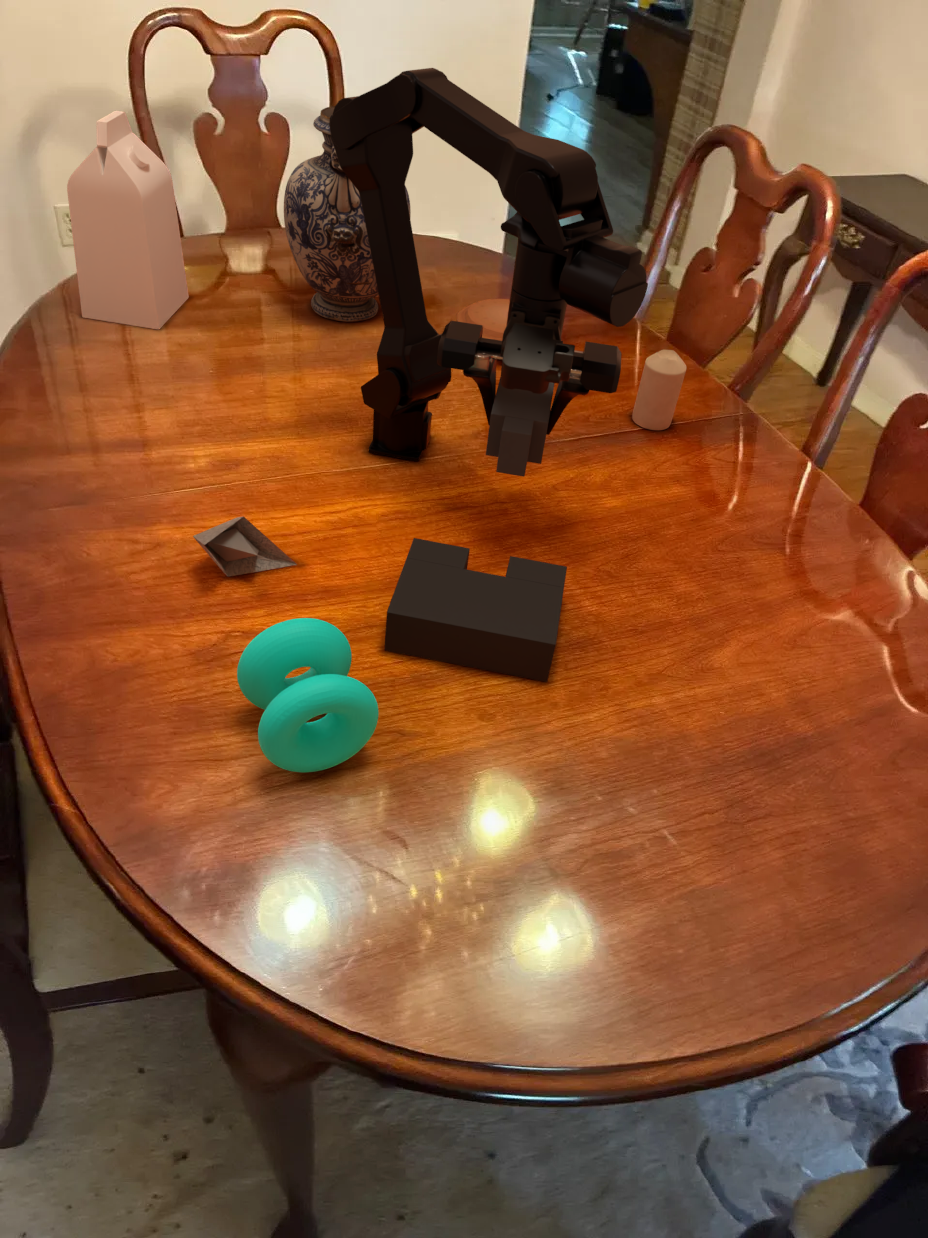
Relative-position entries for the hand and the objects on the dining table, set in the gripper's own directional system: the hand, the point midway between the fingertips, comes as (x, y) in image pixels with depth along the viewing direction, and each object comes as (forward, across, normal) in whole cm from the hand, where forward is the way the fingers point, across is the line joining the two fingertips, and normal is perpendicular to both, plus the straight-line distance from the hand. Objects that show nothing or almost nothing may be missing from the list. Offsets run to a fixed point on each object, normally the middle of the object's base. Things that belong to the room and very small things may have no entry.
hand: (518, 428), depth 102 cm
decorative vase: (+11, -31, +48) cm, 58 cm away
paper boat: (+11, -26, -19) cm, 34 cm away
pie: (+11, -5, +44) cm, 46 cm away
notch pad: (+11, -1, -21) cm, 24 cm away
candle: (+11, +17, +28) cm, 35 cm away
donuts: (+11, -13, -38) cm, 42 cm away
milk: (+11, -60, +37) cm, 71 cm away
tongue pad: (+1, 0, -2) cm, 2 cm away
